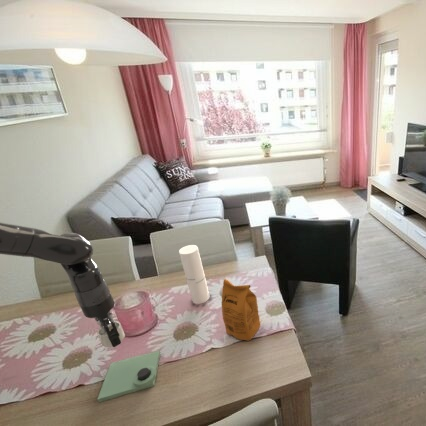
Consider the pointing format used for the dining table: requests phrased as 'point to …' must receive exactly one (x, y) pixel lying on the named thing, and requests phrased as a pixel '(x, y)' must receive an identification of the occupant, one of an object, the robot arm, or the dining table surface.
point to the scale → (129, 376)
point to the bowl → (103, 336)
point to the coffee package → (239, 311)
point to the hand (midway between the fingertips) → (113, 339)
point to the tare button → (143, 374)
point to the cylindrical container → (194, 273)
